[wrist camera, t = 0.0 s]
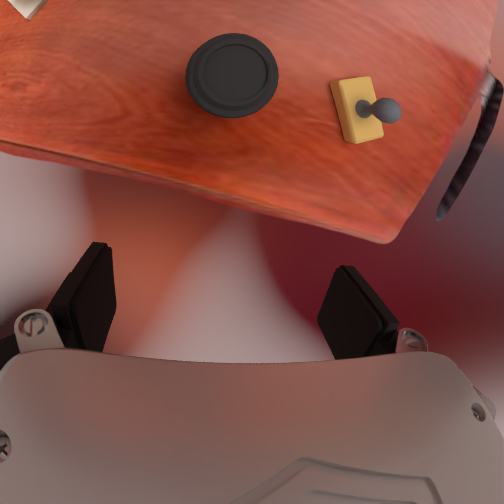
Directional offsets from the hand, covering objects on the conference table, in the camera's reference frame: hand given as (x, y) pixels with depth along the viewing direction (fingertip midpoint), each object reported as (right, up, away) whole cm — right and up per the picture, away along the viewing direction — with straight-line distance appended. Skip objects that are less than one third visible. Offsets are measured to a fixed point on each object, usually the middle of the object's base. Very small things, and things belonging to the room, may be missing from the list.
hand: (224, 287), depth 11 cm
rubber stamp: (+17, +24, +26) cm, 39 cm away
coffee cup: (-3, +24, +23) cm, 33 cm away
